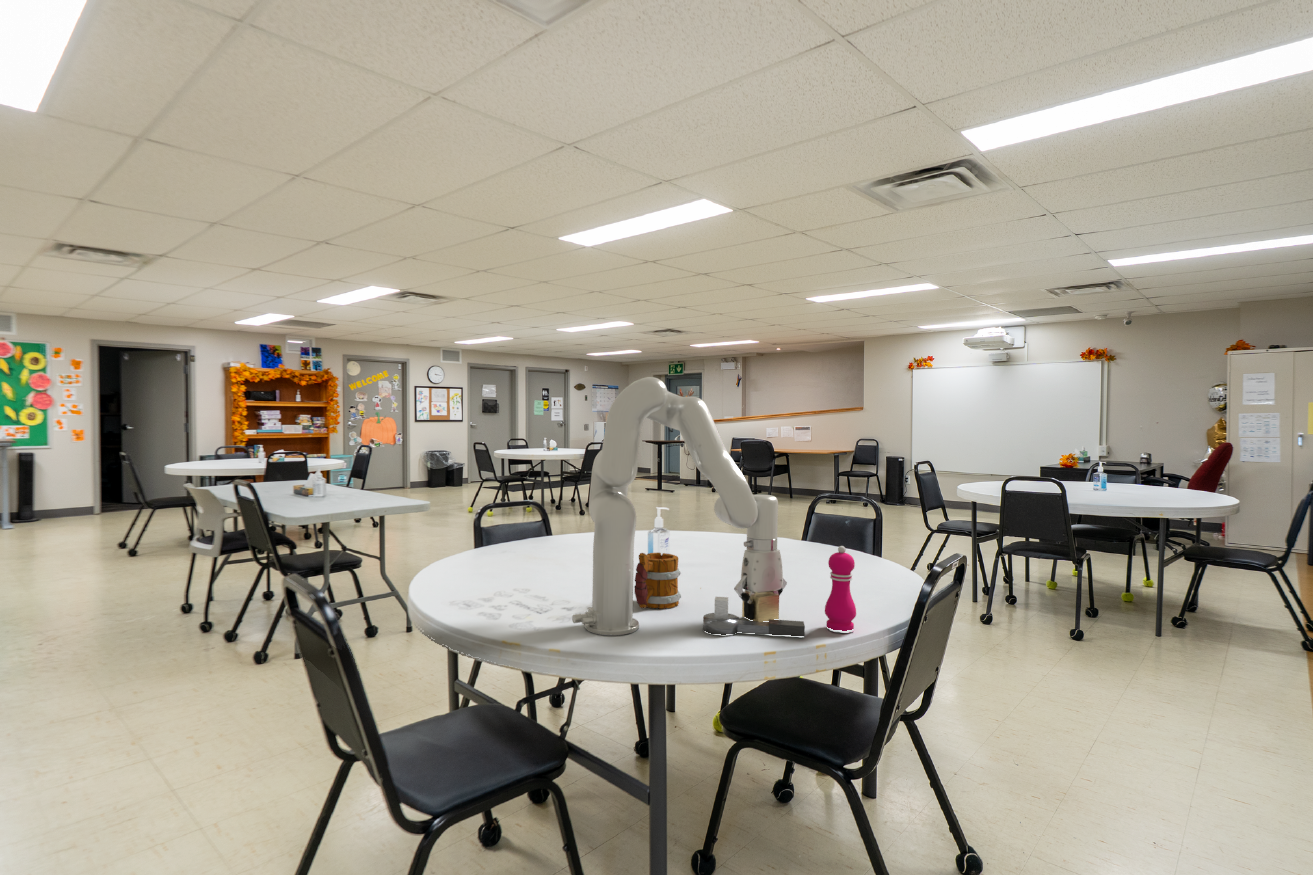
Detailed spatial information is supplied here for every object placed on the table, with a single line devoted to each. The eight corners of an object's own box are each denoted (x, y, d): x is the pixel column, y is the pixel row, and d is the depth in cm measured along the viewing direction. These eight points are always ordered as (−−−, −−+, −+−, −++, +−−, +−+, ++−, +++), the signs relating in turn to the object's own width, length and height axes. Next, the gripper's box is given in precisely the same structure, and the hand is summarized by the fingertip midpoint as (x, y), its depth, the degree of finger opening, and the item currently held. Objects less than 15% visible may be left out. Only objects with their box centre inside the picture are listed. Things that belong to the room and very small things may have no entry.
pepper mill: (832, 623, 159) (833, 542, 159) (860, 629, 154) (862, 545, 154) (819, 629, 153) (821, 545, 153) (848, 636, 149) (850, 550, 148)
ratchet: (701, 634, 148) (702, 602, 148) (704, 623, 156) (705, 593, 156) (805, 641, 145) (806, 608, 144) (802, 630, 153) (803, 598, 153)
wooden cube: (758, 624, 157) (758, 597, 157) (742, 617, 162) (742, 591, 162) (778, 621, 160) (779, 594, 160) (762, 614, 165) (762, 588, 165)
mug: (687, 602, 175) (688, 547, 175) (653, 616, 162) (654, 557, 161) (654, 596, 181) (655, 542, 181) (619, 609, 168) (620, 551, 167)
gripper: (742, 549, 153) (741, 625, 153) (798, 544, 162) (797, 615, 162) (724, 544, 160) (723, 616, 160) (779, 539, 168) (777, 608, 169)
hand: (760, 615), depth 161 cm, fingers closed on wooden cube, 6 cm apart
